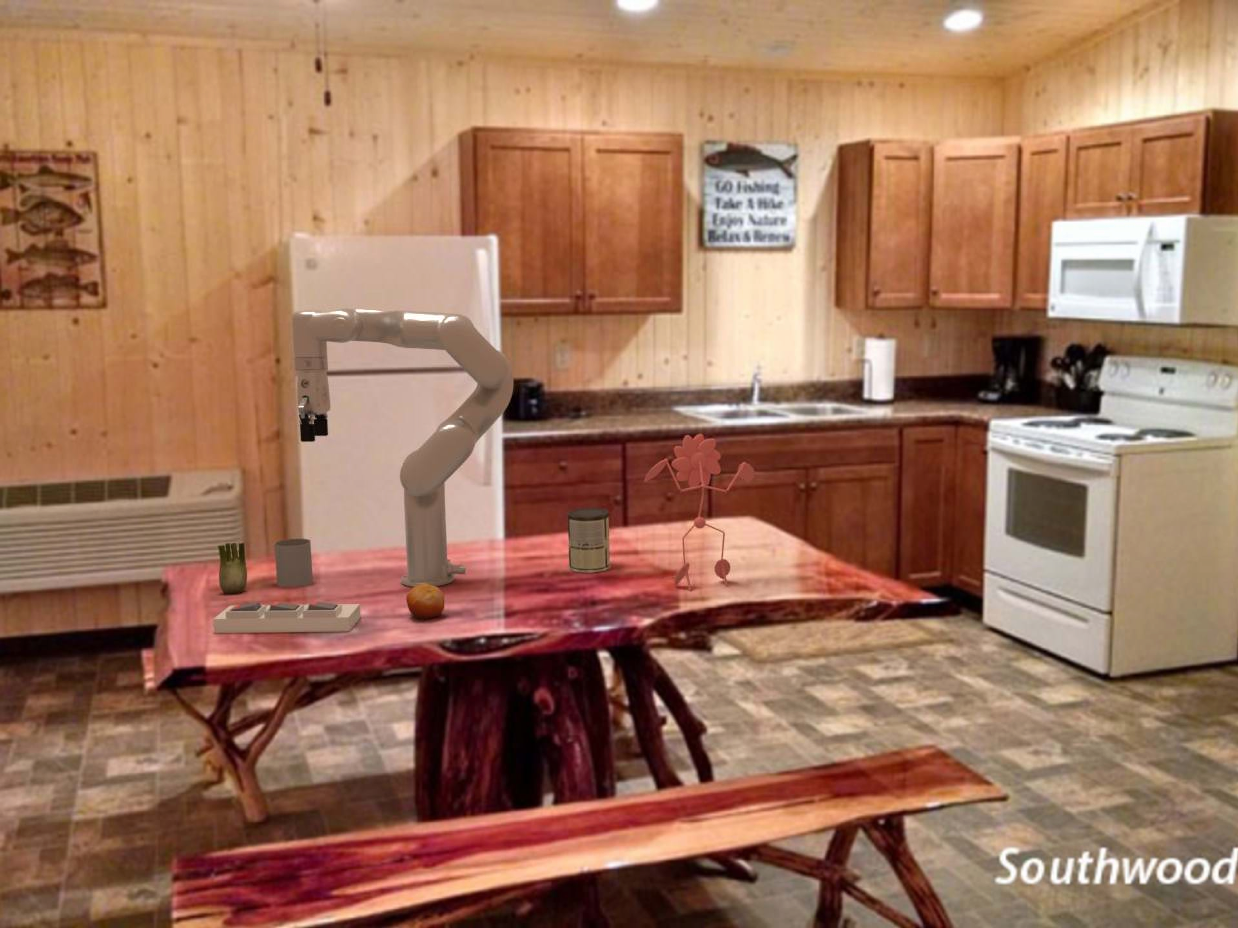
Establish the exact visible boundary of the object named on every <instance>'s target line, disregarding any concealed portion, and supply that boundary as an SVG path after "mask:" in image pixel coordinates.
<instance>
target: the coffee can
mask: <svg viewBox="0 0 1238 928" xmlns="http://www.w3.org/2000/svg"><path fill="white" fill-rule="evenodd" d="M566 516H567V531H568V535H567V536H568V565H569V566H568V569H569V570H570V571H571V572H576V573H583V574H590V573H591V574H593V573H601V572H604V571H608V570H609V569H611V562H610V561H611V560H610V557H611V555H610V523H609V522H610V520H609V519H610V518H609V517H610V511H609V510H608V509H605V508H598V507H597V508H596V507H594V508H593V507H584V508H583V507H582V508H576V509H571V510H569V511H567V513H566Z"/></svg>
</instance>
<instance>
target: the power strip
mask: <svg viewBox="0 0 1238 928" xmlns="http://www.w3.org/2000/svg"><path fill="white" fill-rule="evenodd" d="M336 604H337V606H336V608H335V609H334V610H308V607H309V604H300V603H299V604H298V605H299V606H298V608H297V609H296V610H292V611H270V605H271V604H270V605H269V604H260V606H261V607H260V608H259V609H258V610H257V611H231V610H232V609H233V608H234V607H235V606H237V604H234V605H228V606H227V607H226V609H224V610H222V611H221V612H220V613H219V614H218V615H216V616H215V617H214V618H213V632H214V634H240V633H243V634H245V633H247V634H248V633H251V634H253V633H255V634H256V633H318V632H319V633H321V632H322V633H324V632H326V633H327V632H328V633H332V632H333V633H334V632H336V633H337V632H338V633H339V632H340V633H341V632H350V631H351V630H352V629H353V628H354V626H355V625H356V624H357V623H358V622H359V620H360V619H361V616H362V615H361V614H362V613H361V604H360V603H345V604H344V603H343V604H342V603H336ZM355 623H356V624H355Z"/></svg>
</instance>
